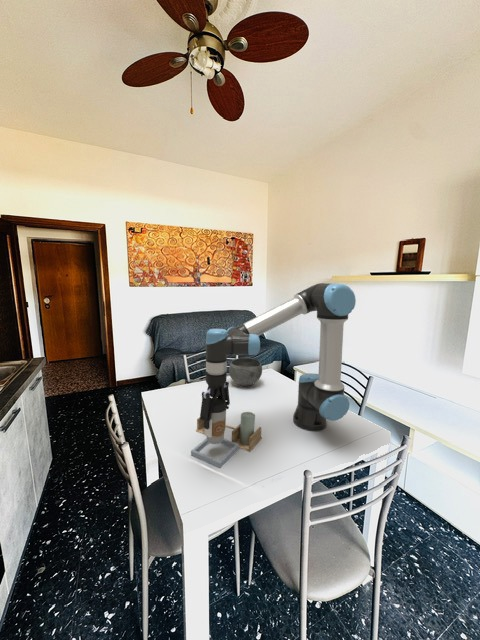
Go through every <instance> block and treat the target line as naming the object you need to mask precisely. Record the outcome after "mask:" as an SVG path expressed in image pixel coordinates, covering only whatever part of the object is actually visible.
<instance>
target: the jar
mask: <svg viewBox="0 0 480 640" xmlns="http://www.w3.org/2000/svg"><path fill="white" fill-rule="evenodd" d="M255 420H256V414H255V413H253V412H251V411H244V412H242V413H241V414H240V424H241V425H240V424H239V425H240V443H242V444H244V445H249V437H250V436H251V435H252V434H253V433H254V432H255Z"/></svg>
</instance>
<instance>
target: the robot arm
mask: <svg viewBox="0 0 480 640" xmlns="http://www.w3.org/2000/svg"><path fill="white" fill-rule="evenodd" d="M356 303H357V301H356V295H355V292H354V291H353V290H352V289H351V287H350V286H348V285H347V284H343V283H340V282H339V283H338V282H337V283H336V282H334V283H329V282H326V283H325V282H323V283H322V282H321V283H316V284H313V285H311V286H309V287H307V288H306V289H303V290H301V291H300V292H297V293H296V294H294V296H293V298H291V299H289V300H286V301H284V302H283V303H281V304H280V305H277V306H276V307H273V308H271V309H269V310H267V311H265V312H263V313H262V314H260V315H258V316H255V317H254V318H251V319H250V320H248V321H246V322H244V323H242V324H240V325H239V324H238V326H230V327H229V328H227V330H226V329H225V328H210V329H208V330H207V331H206V336H205V383H206V385H207V388H206V391H202V392H201V406H200V412H199V413H200V415H199V418H200V420H203V421H204V428H205V435H204V436H205V437H206V438H207V437H210V438H211V437H212V419H211V415H212V409H213V406H214V403H215V401H216V400H217V398H219V399H222V400H223V399H224V400H225V401H226V404H227V409H226V410H229V408H230V405H231V403H230V402H231V401H230V391H229V386H230V385H229V381H227V373H228V372H227V371H228V365H227V364H228V356H229V357H231V356H252V355H257V354H259V352H260V351H261V341H260V340H261V339H260V336H261V335H264V334H265V333H267V332H269V331H271V330H272V329H274V328H277V327H279V326H281V325H283V324H284V323H287V322H288V321H290V320H292V319H294V318H296V317H298V316H301V315H307V314H310V313H311V312H316V319H317V320H318V321H319V322H320V329H319V331H320V332H319V353H318V355H319V356H318V373H311V372H310V373H308V372H307V373H303V374H301V375H299V377H298V378H299V379H298V391H297V392H298V395H297V405H296V407H295V410H294V413H293V416H292V417H293V418H292V421H293V423H294V425H296V426H297V428H298V427H299V428H300V429H302V430H307V431H311V432H312V431H313V432H314V431H315V432H316V431H317V432H318V431H321V430H324V429H325V428H326V427H327V422H328V421H332V422H333V421H339V420H341V419H342V418H343V417H344V416H346V414H347V413H348V411H349V410H350V400H349V399H348V397H347V396H346V395H345V385H344V384H343V382H342V381H341V379H342V364H343V363H342V359H343V357H342V356H343V343H344V324H345V322H346V321H348V319H349V315H350V314H351V313H352V311H353V310H354V309H355V307H356ZM213 398H214V399H213ZM226 421H227V420H226ZM226 421H225V425H227V423H226Z"/></svg>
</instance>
